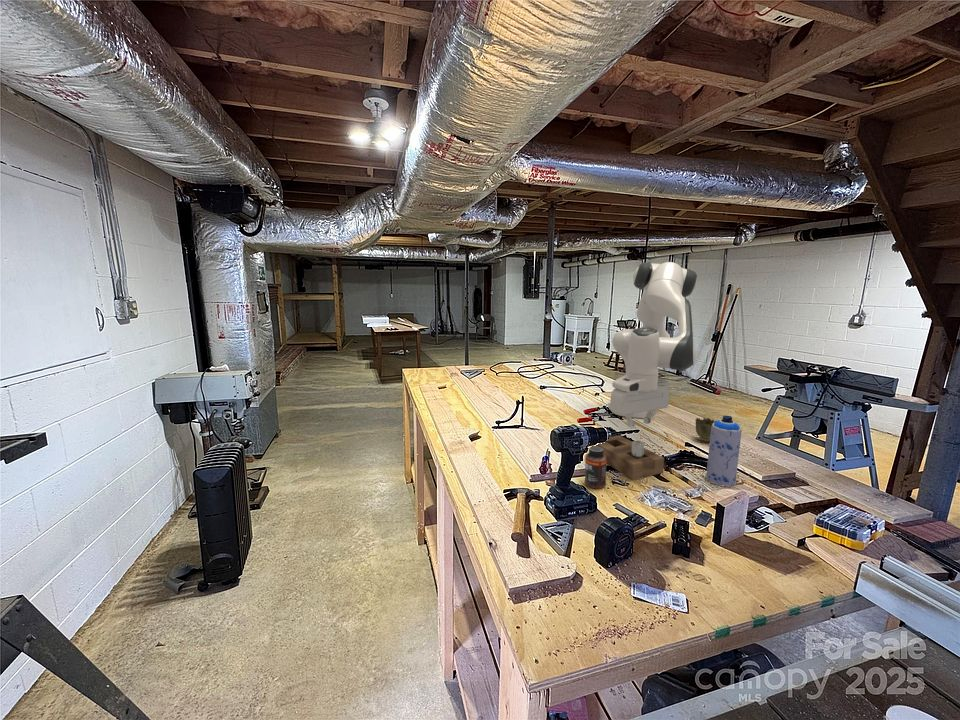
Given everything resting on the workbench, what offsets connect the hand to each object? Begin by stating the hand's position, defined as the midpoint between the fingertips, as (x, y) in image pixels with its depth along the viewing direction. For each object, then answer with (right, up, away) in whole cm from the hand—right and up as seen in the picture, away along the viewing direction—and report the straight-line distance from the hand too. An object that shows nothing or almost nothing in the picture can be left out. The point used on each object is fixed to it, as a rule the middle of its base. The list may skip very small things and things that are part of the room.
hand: (638, 424), depth 119 cm
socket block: (-2, -14, +7) cm, 16 cm away
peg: (0, -15, +3) cm, 15 cm away
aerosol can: (+22, -16, -5) cm, 28 cm away
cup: (+35, -10, +24) cm, 44 cm away
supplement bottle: (-16, -17, -6) cm, 24 cm away
